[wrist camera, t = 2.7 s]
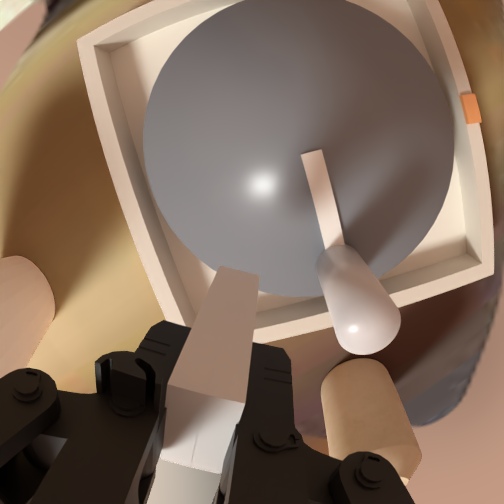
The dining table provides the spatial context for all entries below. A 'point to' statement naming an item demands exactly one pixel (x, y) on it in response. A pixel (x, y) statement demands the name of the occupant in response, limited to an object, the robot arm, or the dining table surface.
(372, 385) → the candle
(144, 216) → the dial plate
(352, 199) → the dial
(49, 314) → the cup
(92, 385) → the dining table surface
